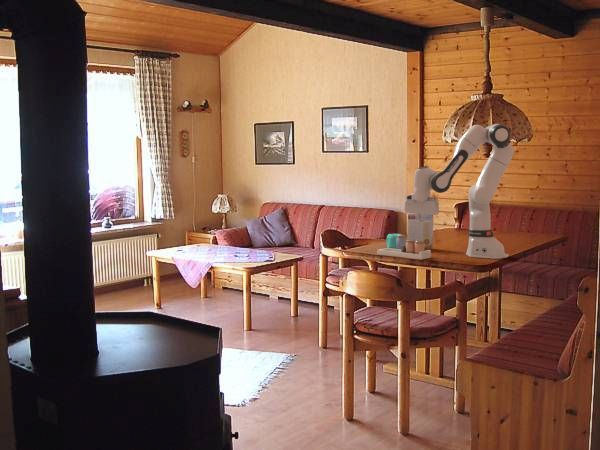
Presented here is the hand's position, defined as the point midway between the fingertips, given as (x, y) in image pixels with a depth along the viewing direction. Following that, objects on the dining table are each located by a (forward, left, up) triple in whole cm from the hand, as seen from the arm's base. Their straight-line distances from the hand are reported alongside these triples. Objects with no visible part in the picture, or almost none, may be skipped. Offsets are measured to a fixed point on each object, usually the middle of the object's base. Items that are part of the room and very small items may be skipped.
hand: (421, 222), depth 383 cm
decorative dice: (+28, -15, -19) cm, 37 cm away
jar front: (-3, +7, -19) cm, 20 cm away
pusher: (+6, +4, -18) cm, 20 cm away
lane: (+7, +7, -18) cm, 21 cm away
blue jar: (+18, -7, -19) cm, 27 cm away
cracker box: (+14, -21, -19) cm, 32 cm away
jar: (+2, +7, -19) cm, 20 cm away
